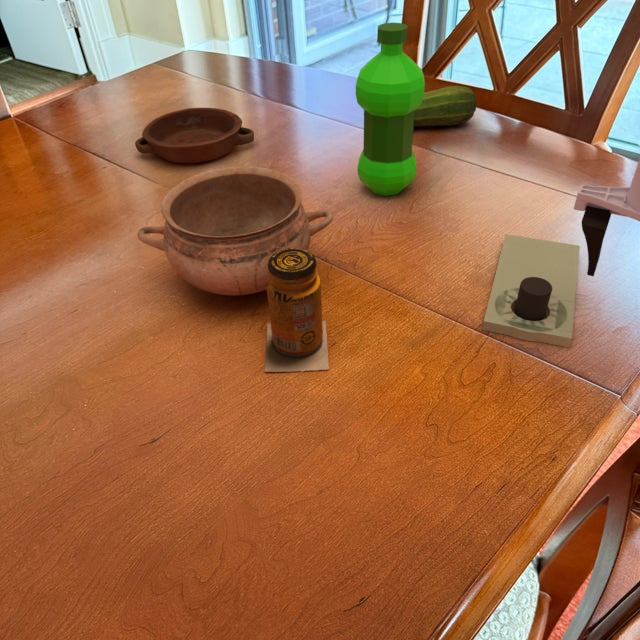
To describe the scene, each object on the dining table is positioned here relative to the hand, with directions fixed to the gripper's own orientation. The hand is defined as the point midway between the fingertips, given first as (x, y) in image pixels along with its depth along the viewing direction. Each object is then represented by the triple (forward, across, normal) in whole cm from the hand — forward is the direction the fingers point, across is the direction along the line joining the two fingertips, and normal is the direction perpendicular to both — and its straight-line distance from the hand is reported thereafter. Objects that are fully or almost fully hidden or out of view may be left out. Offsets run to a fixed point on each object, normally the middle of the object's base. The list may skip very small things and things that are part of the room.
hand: (629, 279), depth 64 cm
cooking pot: (+10, -46, -7) cm, 47 cm away
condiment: (+10, -32, -16) cm, 37 cm away
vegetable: (+10, -41, +50) cm, 66 cm away
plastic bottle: (+10, -38, +24) cm, 46 cm away
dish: (+10, -77, +23) cm, 81 cm away
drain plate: (+9, -10, +7) cm, 15 cm away
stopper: (+9, -9, +1) cm, 13 cm away
